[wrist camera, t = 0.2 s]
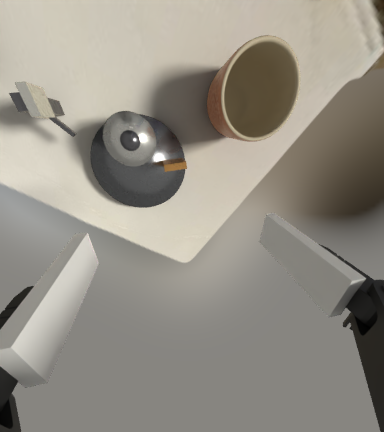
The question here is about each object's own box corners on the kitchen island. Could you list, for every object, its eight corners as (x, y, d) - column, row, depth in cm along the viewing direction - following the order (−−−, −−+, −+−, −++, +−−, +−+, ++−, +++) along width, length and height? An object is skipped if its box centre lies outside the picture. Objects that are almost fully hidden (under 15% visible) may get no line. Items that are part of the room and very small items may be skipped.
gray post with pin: (43, 96, 27) (-1, 83, 20) (74, 94, 28) (42, 80, 20) (61, 138, 30) (29, 141, 23) (89, 135, 31) (66, 137, 23)
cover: (104, 116, 28) (93, 113, 23) (151, 111, 29) (150, 108, 24) (118, 164, 32) (112, 170, 27) (159, 158, 33) (160, 163, 28)
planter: (218, 150, 37) (240, 157, 27) (189, 90, 31) (204, 72, 21) (267, 117, 35) (308, 112, 26) (247, 48, 29) (290, 8, 20)
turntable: (78, 120, 29) (57, 117, 23) (177, 110, 31) (182, 105, 25) (111, 209, 38) (103, 225, 32) (188, 197, 40) (193, 209, 34)
